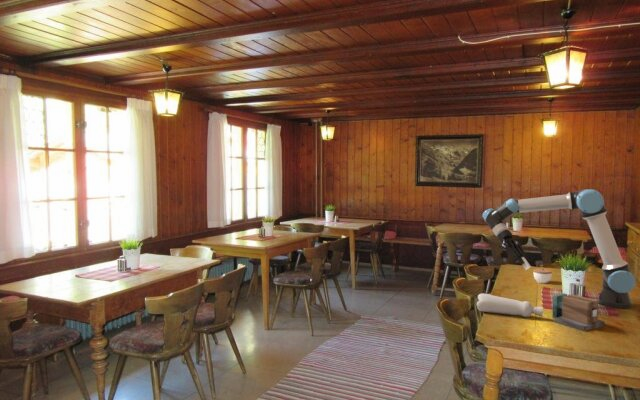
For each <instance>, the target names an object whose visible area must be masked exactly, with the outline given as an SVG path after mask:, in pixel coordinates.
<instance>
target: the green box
mask: <svg viewBox="0 0 640 400" xmlns="http://www.w3.org/2000/svg"><path fill="white" fill-rule="evenodd" d="M552 296H553V297H552V315H551V316H552V318H553V319H555V318H558V317H562V308H563V297H564V296H568V294H567V293H557V294H553V295H552ZM590 316H591V317H595V316H597V309H590Z"/></svg>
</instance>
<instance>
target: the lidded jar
mask: <svg viewBox="0 0 640 400" xmlns="http://www.w3.org/2000/svg"><path fill="white" fill-rule="evenodd" d="M532 271H533V272H532V273H533V274H532V275H533V278H534V280H535V282H537V283H539V284H547V283H549V282H550V281H551V278H552V272H553V271H552V270H550V269H546V268H544V267H541V268H534V269H533V270H532Z"/></svg>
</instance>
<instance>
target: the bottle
mask: <svg viewBox="0 0 640 400" xmlns="http://www.w3.org/2000/svg"><path fill="white" fill-rule="evenodd" d="M477 300H478V301H476V307H477V310H478V311H480V312H483V313H490V314H501V315H511V316H522V317H523V318H530V317H531V316H532V314H533V315H534V316H538V317H543V315H544V314H543V313H544V311H543V310H544V307H543V306H534V307H533V306H532V303H531V302H529V301H528V300H524V301H520V300H518V299H512V298H507V297H502V296H497V295H493V294H490V293H484V292H482V293H479V294H478V295H477Z"/></svg>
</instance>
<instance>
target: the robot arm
mask: <svg viewBox="0 0 640 400" xmlns="http://www.w3.org/2000/svg"><path fill="white" fill-rule="evenodd" d="M604 200H605V198H604V196H603V195H602V194H601V193H600V192H599V191H598V190H595V189H591V188H584V189H580V190H576V191H569V192H568V193H566V194H560V195H558V194H557V195H551V196H549V195H548V196H540V197H532V198H531V197H530V198H524V199H522V198H521V199H514V198H509V199H507V200H506V201H504V202H503V203H502V204H501V205H499V206H498V207H497V208H488V209H486V210H485V211H483V213H482V216H481V217H482V218H483V220H484V222H485V223H486V225H487V226H488V227H489V229H490V230H491V231H492V233H494V235H495V236H496V238H497V239H498V241H499V242H500V243H502V244H501V245H500V247H501V248H502V249H504V250H505V251H506V252H507V253H508V254H509V256H511V257H512V258H513V259H514V260H515V261H516V262H519V264H521V265H522V267H523V268H524V269H525V271H529V270H530V269H531V268H532V266H531V264H530V263H529V262H528V260H527V259H526V258H525V257H527V254H526V252H525V250H524V248H523V246H522V245H521V241H519V240H518V241H516V240H515V238H514V237H513V233H512V232H511V231H510V229H509V227H508V226H507V225H506V224H505V222H504V221H505V220H506V219H508V218H510V217H511V216H512V215H514V214H521V213H532V212H541V211H551V210H562V209H564V210H565V209H570V210H572V211H573V210H578V211H579V212H580V215H581V218H582V219H583V220H585V221H586V223H587V225H588V226H589V229H590V232H591V235H592V237H593V240H594V242H595V245H596V248H597V250H598V252H599V255H600V258H601V261H602V263H603V264H602V267H601V270H602V289H601V292H600V293H599V295H598V298H597V300H598V305H601V306H605V307H608V308H615V309H630V308H632V300H631V296H630V294H629V292H631V291H632V290H633V289H634V288H635V287H636V277H635V276H634V274H633V273H632V271H631V268H630V265H629V263H628V262H627V261H625V260H624V259H623V257H622V255H621V252H620V249H619V247H618V245H617V243H616V240H615V238H614V234H613V231H612V229H611V227H610V224H609V221H608V219H607V217H606V215H607V212H608V209H607V208H606V205H605V201H604Z"/></svg>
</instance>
